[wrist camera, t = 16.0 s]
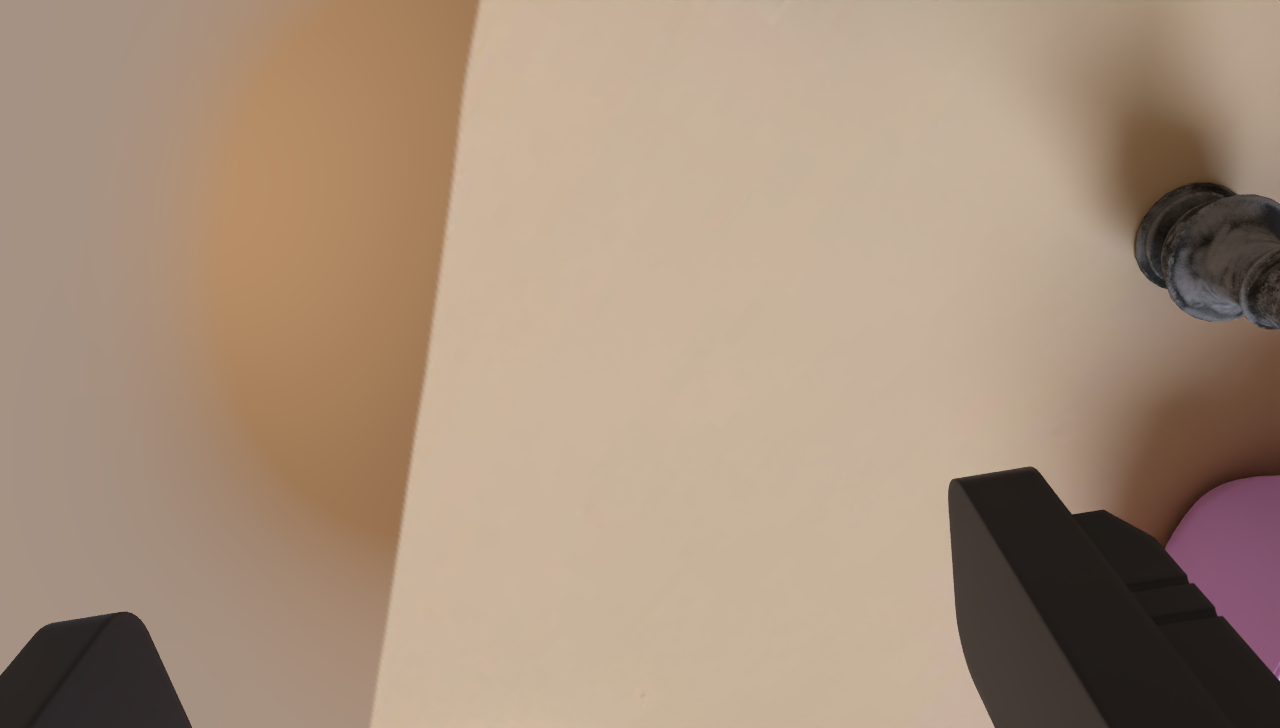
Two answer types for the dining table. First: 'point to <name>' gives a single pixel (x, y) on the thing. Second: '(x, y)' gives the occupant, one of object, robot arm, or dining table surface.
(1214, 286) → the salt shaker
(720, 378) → the dining table surface
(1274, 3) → the dining table surface
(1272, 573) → the teapot
